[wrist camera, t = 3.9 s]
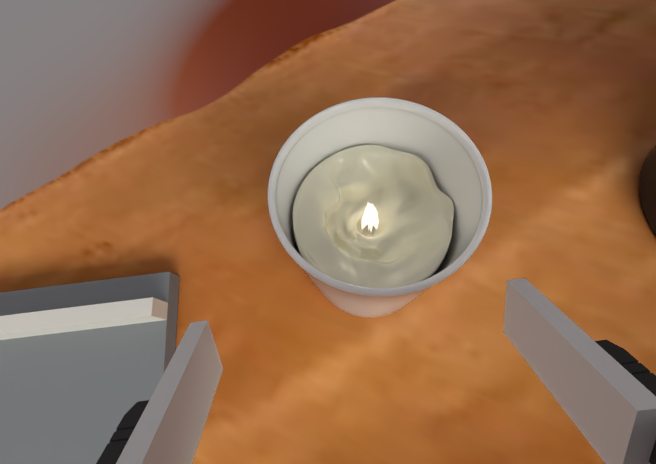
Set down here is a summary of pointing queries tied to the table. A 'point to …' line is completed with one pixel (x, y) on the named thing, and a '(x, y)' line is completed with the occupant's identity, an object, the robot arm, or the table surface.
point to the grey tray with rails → (80, 363)
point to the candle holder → (379, 202)
